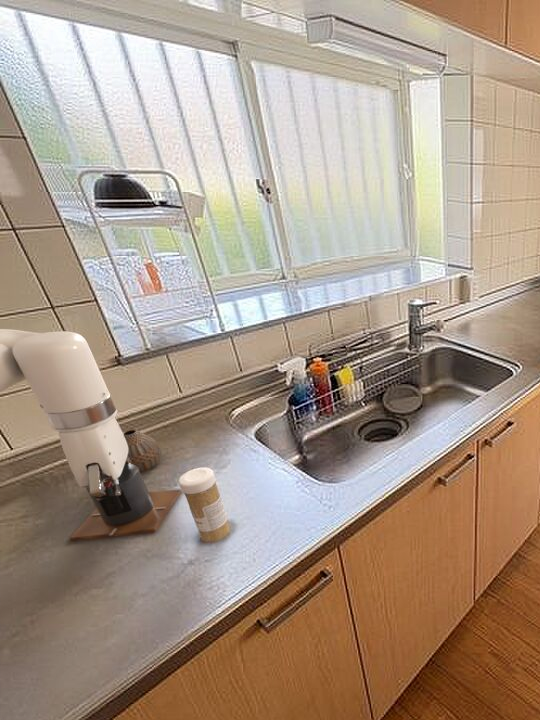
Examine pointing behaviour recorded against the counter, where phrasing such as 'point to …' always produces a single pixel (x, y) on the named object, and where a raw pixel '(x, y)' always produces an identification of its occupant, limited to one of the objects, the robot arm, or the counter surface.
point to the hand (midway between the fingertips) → (124, 497)
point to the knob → (135, 493)
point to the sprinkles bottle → (205, 504)
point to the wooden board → (147, 523)
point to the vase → (142, 449)
